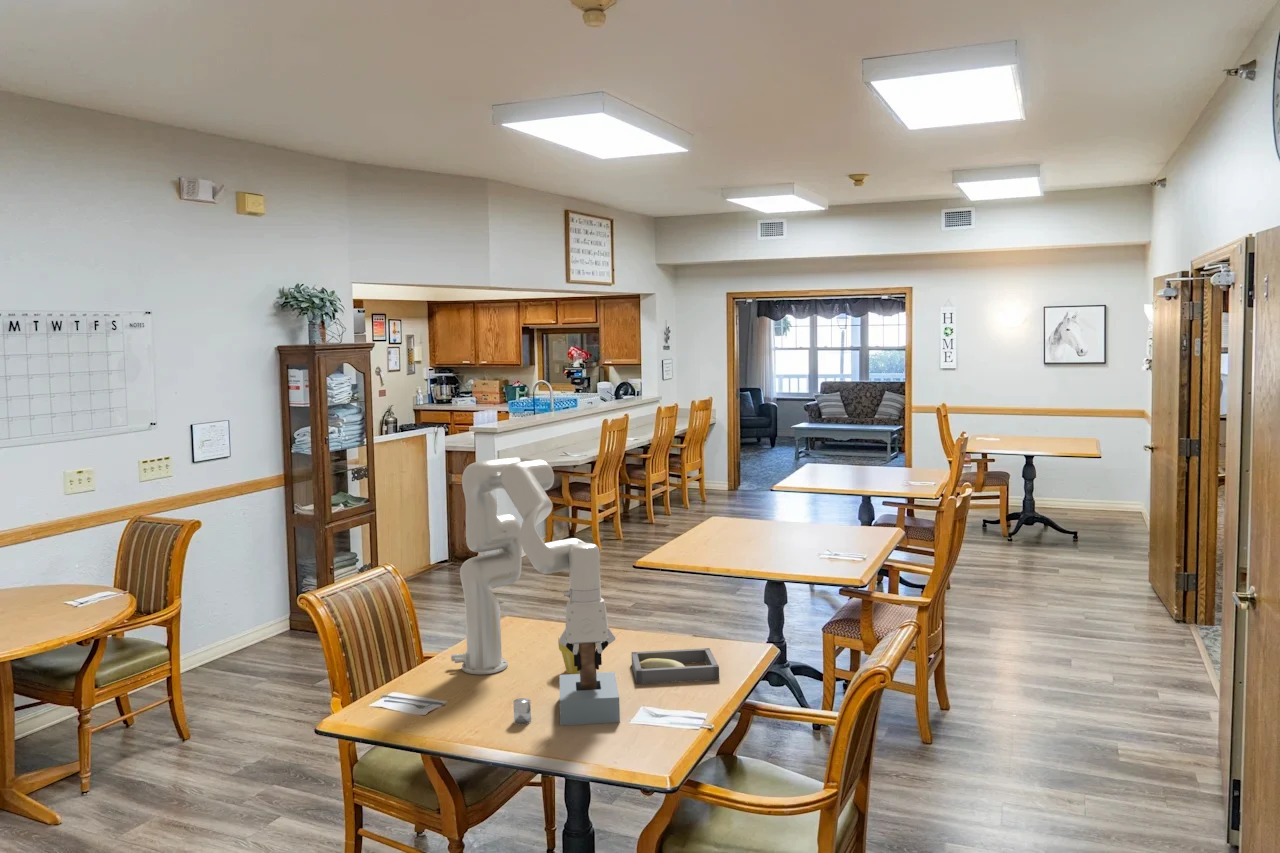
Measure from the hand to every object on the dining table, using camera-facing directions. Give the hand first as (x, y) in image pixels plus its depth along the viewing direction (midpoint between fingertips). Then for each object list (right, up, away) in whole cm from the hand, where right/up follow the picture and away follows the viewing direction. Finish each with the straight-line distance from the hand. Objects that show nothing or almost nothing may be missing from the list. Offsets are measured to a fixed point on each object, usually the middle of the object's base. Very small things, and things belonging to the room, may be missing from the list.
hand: (588, 667), depth 232 cm
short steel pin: (-15, -11, -5) cm, 20 cm away
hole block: (0, -10, +1) cm, 10 cm away
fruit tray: (+22, -8, +27) cm, 36 cm away
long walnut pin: (0, -6, 0) cm, 6 cm away
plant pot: (-4, -9, +30) cm, 31 cm away
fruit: (+19, -9, +26) cm, 34 cm away
